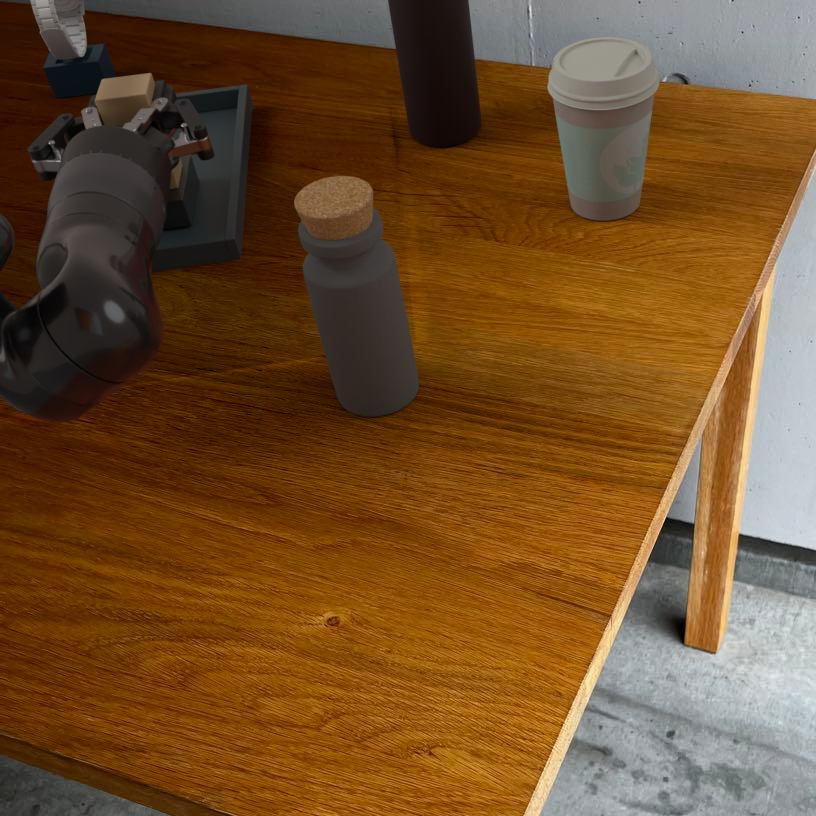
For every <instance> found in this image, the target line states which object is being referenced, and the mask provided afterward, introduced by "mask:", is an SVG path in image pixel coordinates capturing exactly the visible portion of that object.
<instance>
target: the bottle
mask: <svg viewBox="0 0 816 816" xmlns="http://www.w3.org/2000/svg"><path fill="white" fill-rule="evenodd" d="M293 202H294V208H295V211H296V212H297V214H298V216H299V218H300V222H299V225H298V229H297V231H298V232H297V233H298V238H299V242H300V244H301V246H302V248H303V250H304V251H305V252H307V255H306V257H305V258H304V260H303V264H302V274H303V278H304V282H305V286H306V290H307V294H308V298H309V301H310V305H311V308H312V312H313V315H314V319H315V322H316V323H315V324H316V327H317V331H318V334H319V337H320V341H321V345H322V349H323V352H324V356H325V359H326V363H327V367H328V370H329V374H330V377H331V380H332V384H333V387H334V391H335V395H336V398H337V401H338V403H339V404H340V405H341V406H342V408H343V409H344V410H346V411H347V412H349V413H351V414H354V415H357V416H361V417H371V418H374V417H383V416H388V415H391V414H394V413H396V412H398V411H400V410H402V409H403V408H405V407H407V406H408V405H409V404H411V402H412V401H414V399H415V398H416V396H417V394H418V392H419V389H420V379H419V372H418V366H417V362H416V357H415V352H414V351H415V350H414V347H413V345H414V344H413V340H412V335H411V331H410V325H409V320H408V315H407V309H406V305H405V300H404V293H403V289H402V284H401V279H400V278H401V277H400V275H399V269H398V265H397V259H396V255H395V252H394V250H393V248H392V246H390V244H389V243H387V242H386V241H385V240H383V239H382V238H383V235H384V222H383V219H382V216H381V213H380V211H378V209H377V208H375V207H374V189H373V187H372V185H371V184H370V183H369V182H367V181H366V180H364V179H362V178H359V177H356V176H348V175H338V176H337V175H336V176H329V177H324V178H320V179H318V180H315V181H313V182H310V183H309V184H307V185H305V186H304V187H303V188H301V189H300V190H299V191H298V192H297V194H296V196H295V197H294V201H293Z"/></svg>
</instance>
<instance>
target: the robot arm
mask: <svg viewBox="0 0 816 816" xmlns="http://www.w3.org/2000/svg"><path fill="white" fill-rule="evenodd" d="M154 82H155V88H154V92H153V97H152V101H153V102H152V103H151V105H150V106H149V107H148V108H141V109H140V110H139V111H138V112H137V114H136V115H135V116H134V118H133V119H132V120H131V122H126V123H125V125H120V126H104V124H103V121H102V119H101V116H100V113H99V111H98V108H97V105H96V103H95V98H96V95H97V94H92V96H91V97H90V98H89V101H88V105H87V107H84V108H83V109H82V110H81V111H80V113H81V115H80V116H78V117H74V114H73V113H62V114H60V115H58V116H57V117H56V118H55V119H54V120H53V121H52V122H51V123H50V124H49V125H48V127H47V128H45V130H44V131H42V133H41V134H40V135H39V136H38V137H37V138H36V139H35V140H34V141H33V142H32V143H31V144H30V145H29V146H28V147H27V153H28V154H29V157H30V160H31V162H32V165H33V166H34V169H35V171H36V173H37V175H38V177H39V178H40V180H41V181H42V182H50V181H53V180H54V182H53V185H52V188H51V191H50V195H49V197H48V202H47V210H46V221H45V225H44V228H43V231H42V234H41V237H40V241H39V244H38V250H37V254H36V260H35V268H36V271H35V272H36V277H37V280H38V285H39V286H40V288H41V290H40V291H39V292H38V293H36V295H34V296H33V297H32V298H31V299H30V300H28V301H27V302H26V303H25V304H24V305H22V306H21V307H20V308H19V307H18V306H16V305H15V304H13V302H11V300H9V299H8V297H7V296H6V295H5V293H4V292H3V290H2V289H1V288H0V398H1V399H2V400H3V401H5V403H7V404H8V405H9V406H11V407H13V408H14V409H16V410H17V411H19V412H20V413H23V414H25V415H27V416H30V417H32V418H35V419H39V420H42V421H45V422H51V423H68V422H72V421H75V420H78V419H79V418H82V417H83V416H85V415H86V414H88V413H89V412H90V411H92V410H94V408H96V407H97V406H98V405H100V404H101V403H102V402H103V401H104V400H106V399H107V398H108V397H110V396H111V395H112V394H113V393H115V392H116V391H117V390H119V389H120V388H121V387H122V386H124V385H125V384H127V383H128V382H129V381H130V380H132V379H133V378H134V377H136V376H137V375H138V374H139V373H141V372H142V371H143V370H144V369H145V368H147V367H148V366H149V364H150V363H151V362H152V361H153V360H154V359H155V357H156V355H157V354H158V352H159V350H160V348H161V346H162V343H163V340H164V337H165V331H166V329H165V328H166V325H165V320H164V316H163V312H162V309H161V307H160V304H159V301H158V297H157V293H156V289H155V286H154V282H153V280H152V277H151V276H152V272H153V271H152V265H153V259H154V255H155V252H156V250H157V248H158V245H159V243H160V240H161V236H162V231H163V226H164V223H165V220H166V209H167V203H168V197H169V191H170V183H171V171H172V170H173V169H174V168H175V167H176V166H177V165H178V163H179V160H180V157H182V156H185V155H189V154H191V155H195V154H197V155H198V157H199V159H200V160H209V159H212V158H213V157H214V156H215V154H214V151H213V148H212V145H211V141H210V138H209V135H208V132H207V129H206V126H205V124H204V122H203V120H202V119H201V117H200V116H199V114H198V112H197V111H196V109H195V108H194V106H193V104H192V103H191V101H190V100H189V99H186V98H184V99H179V100H177V97H176V94H177V93H176V91H175V88H174V86H173V85H167V82H166V80H165V79H162V80H155V81H154ZM97 92H98V91H97ZM178 129H182V132H181V133H180V134H179V138H178V139H177V140H175V141H173V139H172V137H173V135H174V134H175V133H176V131H177V130H178ZM15 242H16V235H15V230H14V228H13V226H12V224H11V223H10V221H9V220H8V219H7V218H6V216H4V214H2V213H1V212H0V274H1V273H2V271H3V270H4V268H5V266H6V265H7V263H8V261H9V259H10V257H11V255H12V253H13V250H14V246H15V244H16V243H15Z"/></svg>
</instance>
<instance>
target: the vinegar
mask: <svg viewBox="0 0 816 816" xmlns="http://www.w3.org/2000/svg"><path fill="white" fill-rule="evenodd" d="M387 3H388V9H389V15H390V21H391V27H392V34H393V40H394V46H395V52H396V59H397V65H398V71H399V77H400V83H401V90H402V95H403V103H404V108H405V115H406V121H407V126H408V132H409V134H410V136H411V138H412V139H413V140H415V141H416V142H417V143H420V144H421V145H425V146H428V147H436V148H437V147H438V148H445V147H452V146H453V147H454V146H457V145H462V144H464V143H465V142H466V143H467V142H468V141H470V140H472V139H473V138H474V137H476V136H477V135H478V133H479V132H480V130H481V129H482V113H481V112H482V111H481V102H480V94H479V85H478V84H479V83H478V77H477V76H478V74H477V65H476V55H475V47H474V39H473V29H472V20H471V11H470V10H471V9H470V2H469V0H387Z"/></svg>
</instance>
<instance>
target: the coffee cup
mask: <svg viewBox="0 0 816 816" xmlns="http://www.w3.org/2000/svg"><path fill="white" fill-rule="evenodd" d="M551 66H552V67H551V70H550V72H549V74H548V82H547V92H548V93H549V95H550V96H551V98H552V101H553V108H554V114H555V120H556V121H555V122H556V126H557V132H558V138H559V146H560V150H561V151H560V152H561V156H562V161H563V169H564V173H565V174H564V175H565V180H566V186H567V191H568V197H569V202H570V207H571V209H572V210H573V212H574V213H576V214H577V215H578V216H580V217H582V218H585V219H588V220H591V221H598V222H599V221H600V222H602V221H603V222H606V221H615V220H619V219H622V218H625V217H628V216H630V215H631V214H633V213H634V212H635V211H636V210H637V209H638V208H639V206H640V205H641V204H640V203H641V198H642V191H643V183H644V177H645V168H646V161H647V155H648V154H647V153H648V144H649V138H650V129H651V121H652V115H653V108H654V107H653V106H654V101H655V100H654V99H655V93H656V92H657V90H658V89H659V86H660V77H659V70H658V67H657V66H656V64H655V60H654V56H653V53H652V51H651V50H650V48H648V47H647V46H646V45H645V44H643V43H641V42H639V41H636V40H633V39H628V38H623V37H616V36H615V37H613V36H611V37H610V36H604V37H603V36H602V37H591V38H586V39H582V40H578V41H575V42H573V43H570V44H568V45H566V46H564V47H563V48H561V49H560V50H559V51H558V52H557V53H556V54H555V56H554V58H553V61H552V65H551Z"/></svg>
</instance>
